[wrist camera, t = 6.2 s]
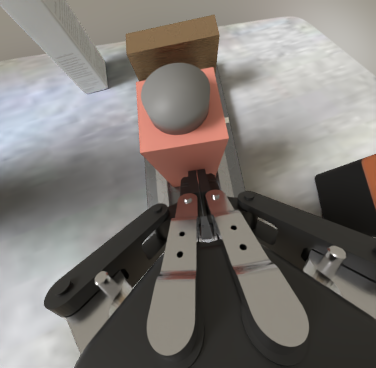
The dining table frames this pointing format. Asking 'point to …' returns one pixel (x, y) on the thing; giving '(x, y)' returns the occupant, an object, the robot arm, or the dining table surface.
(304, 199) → the dining table surface
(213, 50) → the rail
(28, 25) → the skincare box
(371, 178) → the battery
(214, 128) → the pink dome-topped pillar
